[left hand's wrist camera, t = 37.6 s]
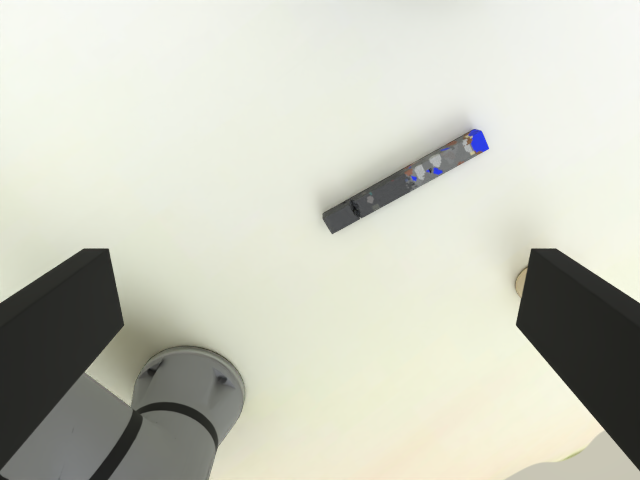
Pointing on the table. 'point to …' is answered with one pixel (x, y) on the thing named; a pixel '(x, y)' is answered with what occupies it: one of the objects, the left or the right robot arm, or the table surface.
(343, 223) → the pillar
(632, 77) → the table surface
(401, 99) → the table surface
